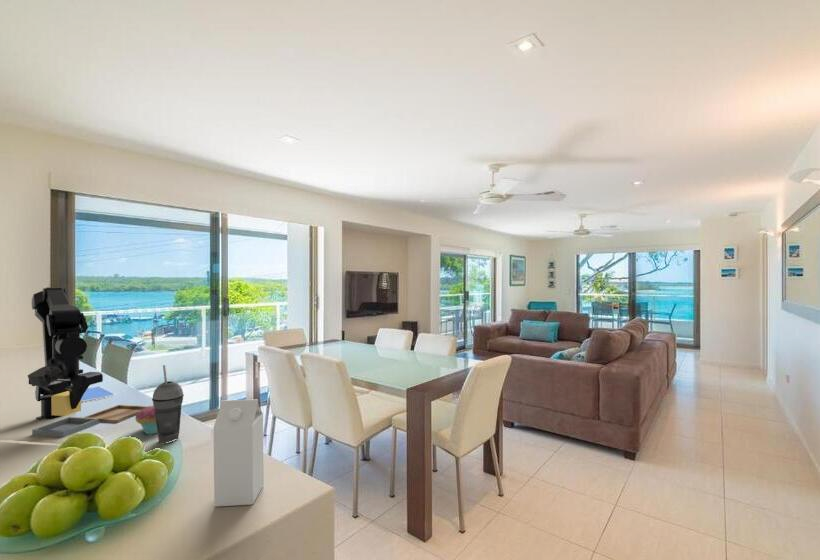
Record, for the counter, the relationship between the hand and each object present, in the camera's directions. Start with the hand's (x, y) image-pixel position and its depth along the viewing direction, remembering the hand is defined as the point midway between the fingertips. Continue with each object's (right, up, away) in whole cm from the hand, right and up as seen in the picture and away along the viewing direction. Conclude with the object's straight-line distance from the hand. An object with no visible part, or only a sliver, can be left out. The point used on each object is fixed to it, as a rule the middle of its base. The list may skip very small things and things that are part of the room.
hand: (66, 408), depth 112 cm
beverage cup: (+33, -6, -7) cm, 35 cm away
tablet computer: (-22, -7, +35) cm, 42 cm away
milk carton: (+64, -6, -35) cm, 73 cm away
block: (0, -1, 0) cm, 1 cm away
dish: (0, -7, 0) cm, 7 cm away
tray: (+6, -6, +12) cm, 15 cm away
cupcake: (+25, -7, -1) cm, 26 cm away
